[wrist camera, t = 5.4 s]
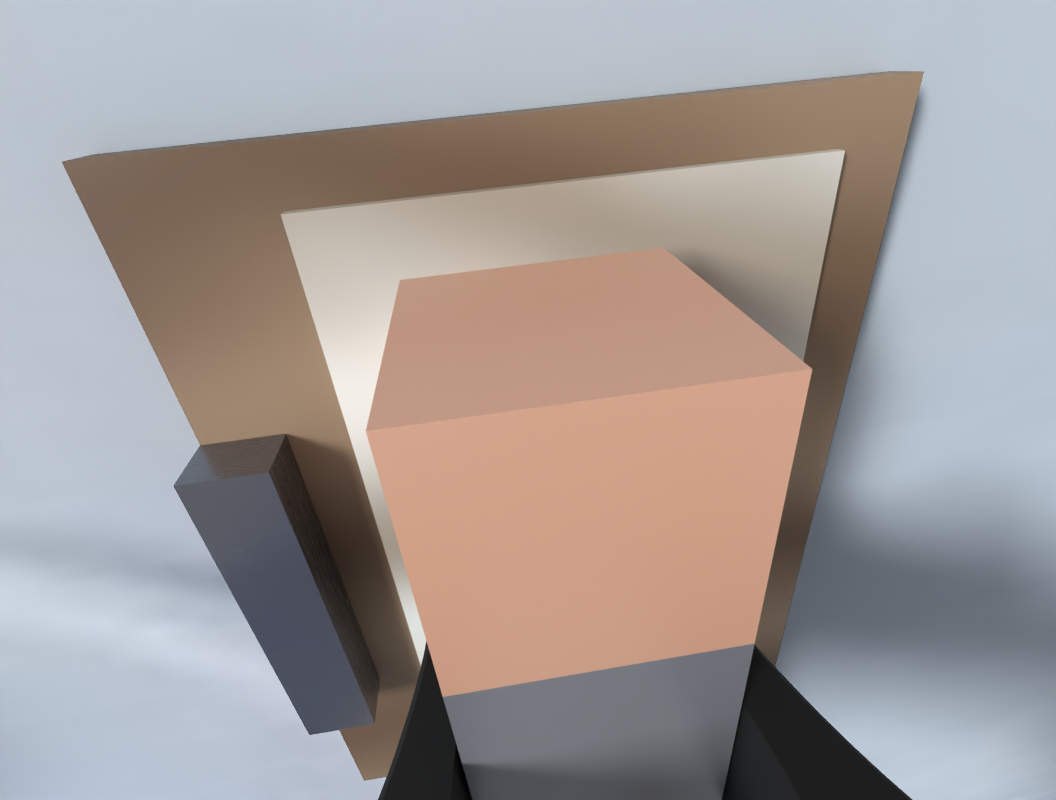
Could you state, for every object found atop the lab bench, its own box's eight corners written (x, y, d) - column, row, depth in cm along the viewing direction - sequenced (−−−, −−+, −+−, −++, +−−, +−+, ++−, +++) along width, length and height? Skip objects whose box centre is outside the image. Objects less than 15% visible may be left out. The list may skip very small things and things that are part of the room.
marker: (641, 758, 16) (692, 939, 13) (506, 782, 16) (523, 974, 13) (664, 247, 8) (812, 368, 5) (399, 279, 8) (365, 431, 5)
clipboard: (752, 686, 19) (783, 747, 17) (367, 753, 18) (359, 825, 16) (889, 71, 9) (987, 71, 8) (93, 154, 9) (4, 175, 7)
